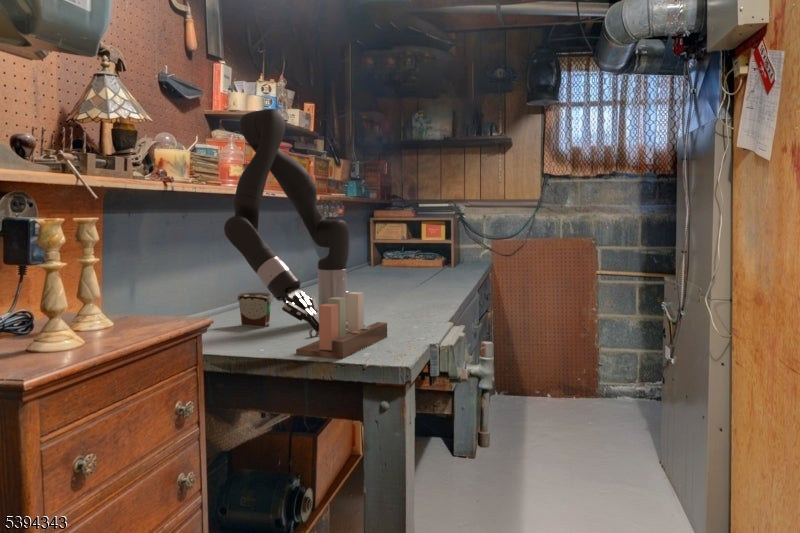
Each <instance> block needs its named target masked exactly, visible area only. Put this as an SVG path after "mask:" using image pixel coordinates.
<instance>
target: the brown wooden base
mask: <svg viewBox="0 0 800 533" xmlns="http://www.w3.org/2000/svg"><path fill="white" fill-rule="evenodd" d="M386 337H387V338H388V322H385V321H384V322H382V321H377V322H375V323H372V324H370V325H368V326H365V327H364V328H361V329H360V330H357V331H354V332H347V329H346V335H345V336H343V337H340V338H338V339H335V340H333V341H332V350H322V349H319V340H316V341H314V342H312V343H309V344H306V345H303V346H300V347H298V348H296V350H295V353H296V355H301V356H302V355H303V356H305V355H306V356H314V357H322V358H331V359H332V358H333V359H340V358H341V359H343V358H344V359H346V358H348V357H350V356H352V355H354V354H356V353H358V352H360V351H361V349H362V350H364V349H366V348H368V347H370V346H372V345H374V344H373V343H375V344H376V342H377V343H379V342H381V341H382V339H383V340H384V338H385V339H387V338H386ZM380 340H381V341H380ZM378 341H379V342H378ZM371 344H372V345H371ZM369 345H370V346H369ZM367 346H368V347H367ZM365 347H366V348H365ZM363 348H364V349H363ZM359 350H360V351H359ZM357 351H358V352H357ZM355 352H356V353H355ZM353 353H354V354H353ZM351 354H352V355H351ZM349 355H350V356H349ZM347 356H348V357H347ZM345 357H346V358H345Z"/></svg>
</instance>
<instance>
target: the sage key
mask: <svg viewBox="0 0 800 533" xmlns="http://www.w3.org/2000/svg"><path fill="white" fill-rule="evenodd" d="M328 304H338V338H340V337H343V336H345V335H346V330H347V329H346V324H347V321H346V298H341V297H333V298H329V299H328Z"/></svg>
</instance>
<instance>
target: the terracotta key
mask: <svg viewBox="0 0 800 533" xmlns="http://www.w3.org/2000/svg"><path fill="white" fill-rule="evenodd" d="M318 318H319V335H318V337H319V349H322V350H332V341H333V340H335V339H338V304H323V305H319V312H318Z"/></svg>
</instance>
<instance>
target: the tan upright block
mask: <svg viewBox="0 0 800 533" xmlns="http://www.w3.org/2000/svg"><path fill="white" fill-rule="evenodd" d="M364 294H365V293H364V292H361V291H359V292H358V291H352V292H349V293H347V321H346V324H347V329H346V330H347V332H354V331H357V330H360V329H361V328H364V325H365V317H364V316H365V311H364V310H365V308H364V300H365V299H364V298H365V297H364Z"/></svg>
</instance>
